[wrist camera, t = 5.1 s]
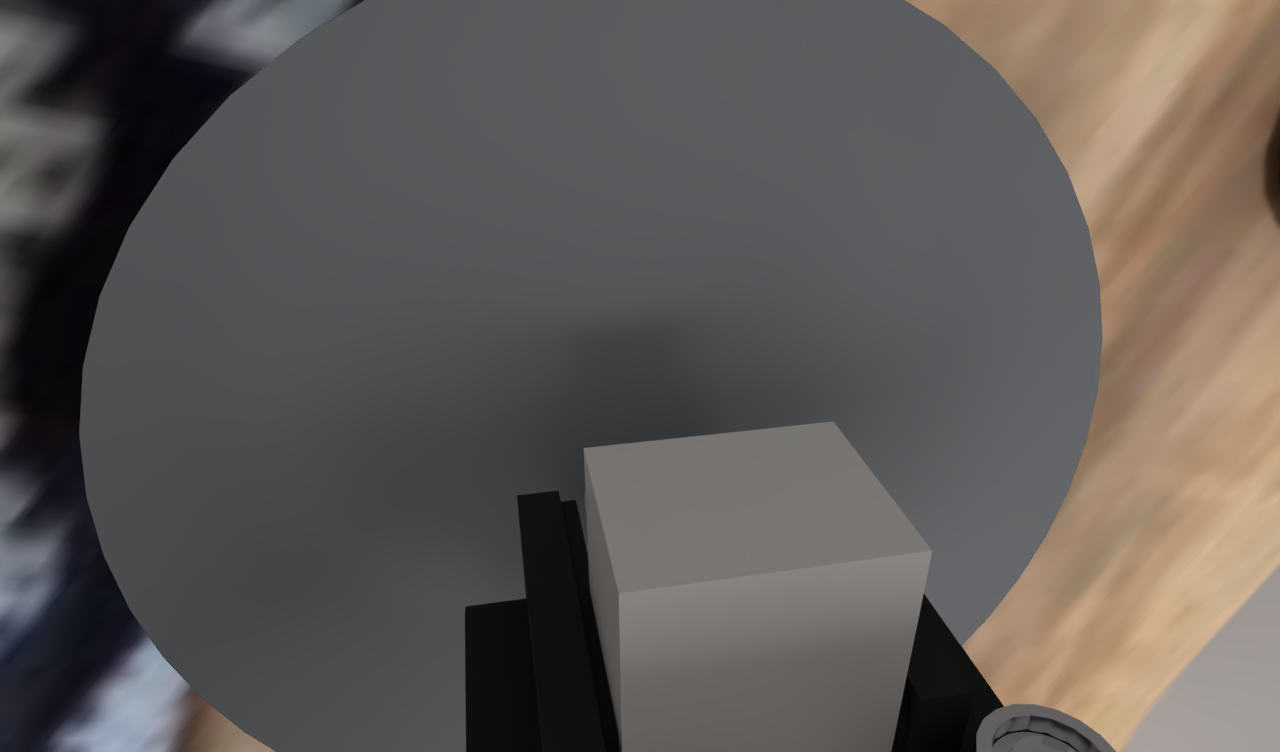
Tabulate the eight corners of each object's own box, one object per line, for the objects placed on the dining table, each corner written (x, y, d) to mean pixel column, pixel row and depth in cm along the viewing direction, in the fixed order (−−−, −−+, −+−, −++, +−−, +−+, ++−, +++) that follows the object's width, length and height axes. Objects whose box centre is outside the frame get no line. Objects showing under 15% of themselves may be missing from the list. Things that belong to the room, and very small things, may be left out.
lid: (-80, -65, 9) (-1063, -62, 3) (1175, -71, 11) (1900, -74, 6) (244, 832, 16) (126, 1330, 10) (971, 707, 18) (1200, 1053, 13)
